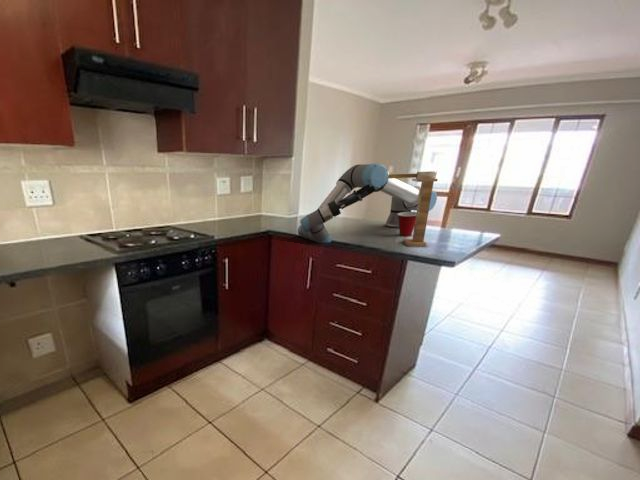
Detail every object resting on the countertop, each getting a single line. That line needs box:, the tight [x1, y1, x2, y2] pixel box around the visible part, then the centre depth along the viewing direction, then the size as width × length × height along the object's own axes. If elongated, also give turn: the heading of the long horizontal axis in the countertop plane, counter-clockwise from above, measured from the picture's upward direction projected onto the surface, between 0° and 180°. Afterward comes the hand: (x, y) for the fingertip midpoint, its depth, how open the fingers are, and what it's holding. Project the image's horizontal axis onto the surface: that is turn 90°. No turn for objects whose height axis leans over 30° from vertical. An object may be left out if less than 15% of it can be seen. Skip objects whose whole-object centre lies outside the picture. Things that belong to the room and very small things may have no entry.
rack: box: [402, 178, 439, 247], centre depth 157 cm, size 10×8×30 cm
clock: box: [388, 170, 438, 179], centre depth 152 cm, size 8×20×3 cm, turn 78°
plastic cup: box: [397, 211, 417, 237], centre depth 180 cm, size 11×11×12 cm
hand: (372, 187), depth 157 cm, fingers open, 13 cm apart
